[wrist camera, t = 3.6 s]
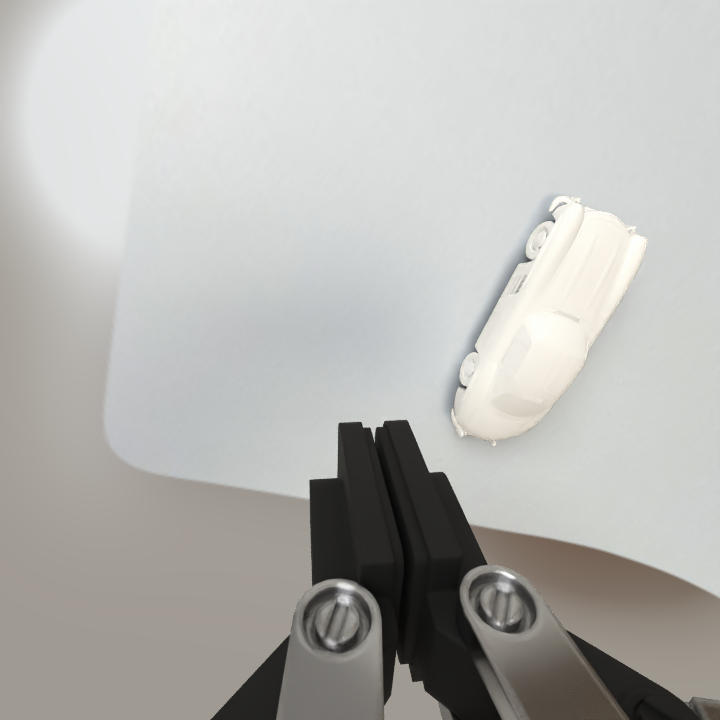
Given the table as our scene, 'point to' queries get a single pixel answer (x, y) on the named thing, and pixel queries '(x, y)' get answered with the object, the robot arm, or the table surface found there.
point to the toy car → (546, 320)
